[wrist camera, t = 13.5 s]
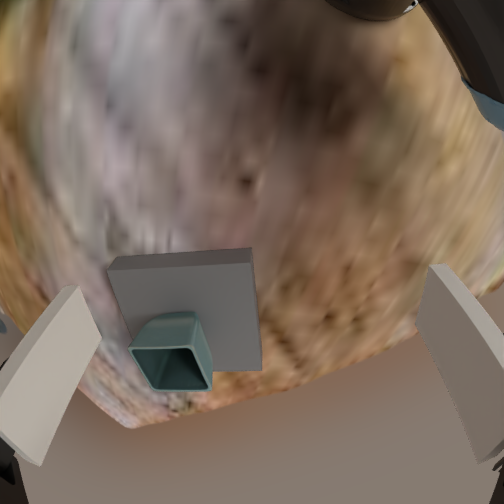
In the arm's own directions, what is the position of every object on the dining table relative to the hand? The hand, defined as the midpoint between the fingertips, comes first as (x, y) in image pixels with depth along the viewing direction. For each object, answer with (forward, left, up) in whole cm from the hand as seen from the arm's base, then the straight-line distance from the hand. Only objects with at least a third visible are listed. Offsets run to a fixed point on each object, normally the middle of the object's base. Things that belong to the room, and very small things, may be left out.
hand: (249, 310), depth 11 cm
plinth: (+12, +22, -29) cm, 38 cm away
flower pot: (+12, +22, -25) cm, 35 cm away
